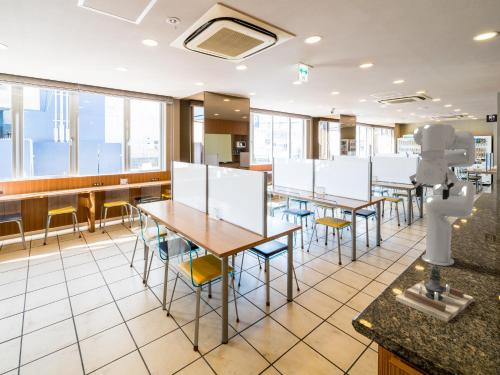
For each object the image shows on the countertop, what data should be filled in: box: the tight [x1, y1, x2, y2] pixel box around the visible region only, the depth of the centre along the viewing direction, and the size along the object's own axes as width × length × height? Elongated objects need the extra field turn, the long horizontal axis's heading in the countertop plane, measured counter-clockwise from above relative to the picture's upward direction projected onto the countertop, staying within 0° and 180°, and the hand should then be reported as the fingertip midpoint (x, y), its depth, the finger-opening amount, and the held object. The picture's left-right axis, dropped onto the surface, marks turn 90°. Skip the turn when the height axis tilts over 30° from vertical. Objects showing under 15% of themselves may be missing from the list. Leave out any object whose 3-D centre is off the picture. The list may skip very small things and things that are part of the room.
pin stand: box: [395, 278, 474, 323], centre depth 95 cm, size 20×16×6 cm
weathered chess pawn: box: [425, 264, 445, 301], centre depth 94 cm, size 6×6×12 cm
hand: (431, 197), depth 110 cm, fingers open, 9 cm apart
